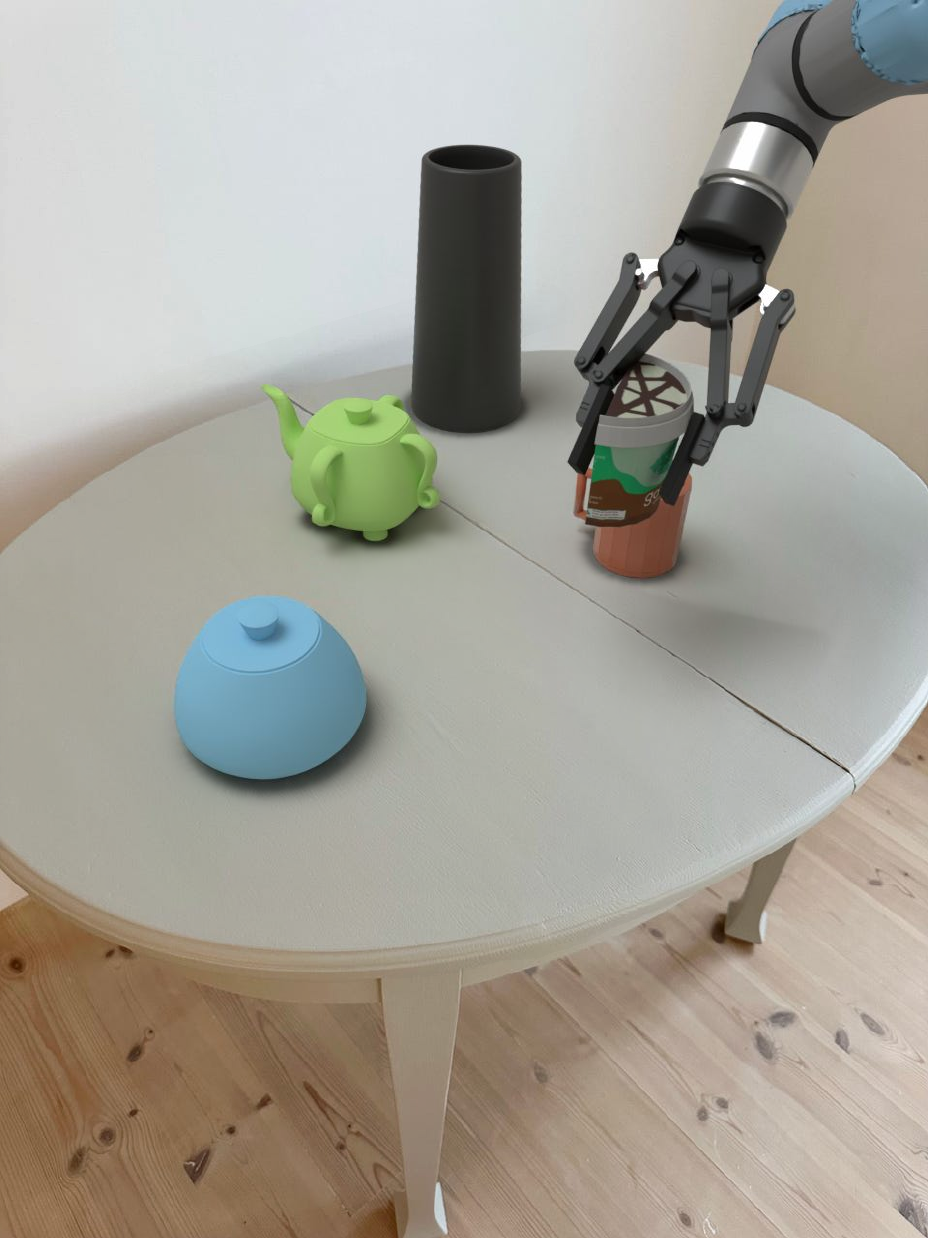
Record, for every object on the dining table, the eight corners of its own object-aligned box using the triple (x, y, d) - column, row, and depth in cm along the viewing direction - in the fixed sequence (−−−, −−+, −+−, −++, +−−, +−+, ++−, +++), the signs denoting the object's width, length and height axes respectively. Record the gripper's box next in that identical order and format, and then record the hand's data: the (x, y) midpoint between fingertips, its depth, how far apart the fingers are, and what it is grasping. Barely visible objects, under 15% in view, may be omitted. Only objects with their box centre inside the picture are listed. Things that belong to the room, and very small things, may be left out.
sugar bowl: (293, 823, 70) (276, 713, 63) (140, 746, 76) (107, 636, 68) (402, 697, 80) (398, 589, 73) (260, 637, 86) (243, 531, 78)
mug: (689, 546, 97) (706, 470, 92) (655, 588, 92) (669, 510, 86) (590, 510, 102) (600, 435, 96) (552, 548, 97) (559, 472, 91)
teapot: (287, 562, 94) (273, 450, 86) (273, 485, 105) (259, 379, 96) (446, 541, 97) (447, 431, 89) (417, 468, 108) (416, 364, 100)
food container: (659, 553, 72) (686, 436, 65) (580, 534, 73) (598, 418, 67) (684, 471, 81) (709, 361, 74) (613, 456, 82) (631, 347, 76)
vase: (388, 407, 119) (379, 156, 100) (459, 370, 127) (463, 132, 108) (473, 444, 112) (480, 184, 93) (542, 403, 120) (561, 156, 102)
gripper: (872, 259, 72) (750, 539, 72) (633, 208, 80) (523, 460, 80) (874, 203, 65) (739, 513, 65) (612, 154, 73) (492, 429, 73)
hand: (620, 483), depth 73 cm, fingers closed on food container, 7 cm apart
